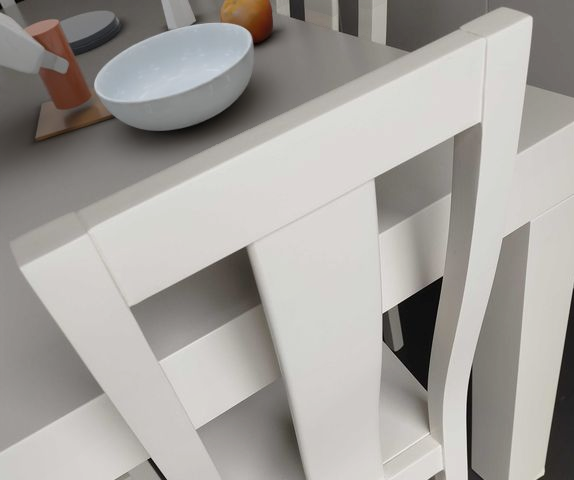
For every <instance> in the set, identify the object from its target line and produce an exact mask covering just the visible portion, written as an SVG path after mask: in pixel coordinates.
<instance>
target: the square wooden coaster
mask: <svg viewBox="0 0 574 480" xmlns="http://www.w3.org/2000/svg"><path fill="white" fill-rule="evenodd" d="M90 90H91V93H92V96H91V98H90V99H89V100H88V101H86V102H85V103H83V104H82V105H80V106H77V107H75V108H71V109H67V110H59V109H57V108H56V107H55V106H54V104H53V102H52V100H48V101H45V102H43V103H41V107H40V111H39V116H38V122H37V127H36V133H35V137H34V138H35V140H36V142H40V141H43V140H45V139H46V140H47V139H49V138H52V137H56V136H59V135H61V134H65V133H68V132H71V131H75V130H79V129H81V128H85V127H88V126H92V125H95V124H99V123H101V122H103V121H107V120H110V119H114V118H116V117H115V116H114V115H113V114H111V113H110V111H109V110H108V109H107V108H106V107H105V106H104V104H103V103H102V101H101V100H100V98H99V97H98V95H97V94H96V92H95V89H94V87H91V88H90Z"/></svg>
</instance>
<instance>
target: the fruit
mask: <svg viewBox="0 0 574 480" xmlns="http://www.w3.org/2000/svg"><path fill="white" fill-rule="evenodd" d="M219 14H220V15H219V16H220V23H229V24H235V25H239V26H241V27H243V28H245V29H246V30H248V31H249V32H250V34H251V36H252V39H253V44H260V43H261V42H263V41H265V40H266V39H267V38H269V36H271V34H272V33H273V32H274V17H273V6H272V4H271V1H270V0H224V2H223V4H222V6H221V9H220V11H219Z"/></svg>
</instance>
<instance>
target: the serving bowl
mask: <svg viewBox="0 0 574 480" xmlns="http://www.w3.org/2000/svg"><path fill="white" fill-rule="evenodd" d="M254 49H255V48H254V43H253V39H252V36H251V34H250V32H249V31H248V30H246V29H245V28H243V27H241V26H239V25H235V24H229V23H221V22H207V23H197V24H192V25H190V26H186V27H182V28H178V29H174V30H168V31H164V32H161V33H158V34H156V35H153V36H150V37H148V38H145V39H144V40H142V41H139V42H137V43H134V44H132V45H131V46H129V47H128V48H126V49H125V50H123V51H121V52H120V53H119V54H117V55H116V56H114V57H113V58H112V59H111V60H109V61H108V62H107V63H106V64H104V66H102V68H101V69H100V70H99V72H98V73H97V75H96V77H95V79H94V83H93V88H94V89H95V92H96V94H97V95H98V97H99V98H100V100H101V101H102V103H103V104H104V106H105V107H106V108H107V109H108V110H109V111H110V113H111V114H113V115H114V116H115V117H114V118H116V119H117V120H119V121H120V122H122V123H124V124H126V125H128V126H130V127H132V128H136V129H139V130H145V131H150V132H151V131H154V132H160V131H161V132H163V131H174V130H178V129H183V128H187V127H192V126H194V125H197V124H200V123H202V122H205V121H207V120H209V119H211V118H213V117H215V116H217V115H219V114H220V113H222V112H223V111H225V110H226V109H227V108H229V107H230V106H231V105H232V104H234V103H235V102H236V101H237V100H238V99H239V98H240V97H241V95H242V94H243V92H244V91H245V90H246V88H247V86H248V84H249V82H250V81H251V77H252V75H253V71H254V65H255V50H254Z"/></svg>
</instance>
